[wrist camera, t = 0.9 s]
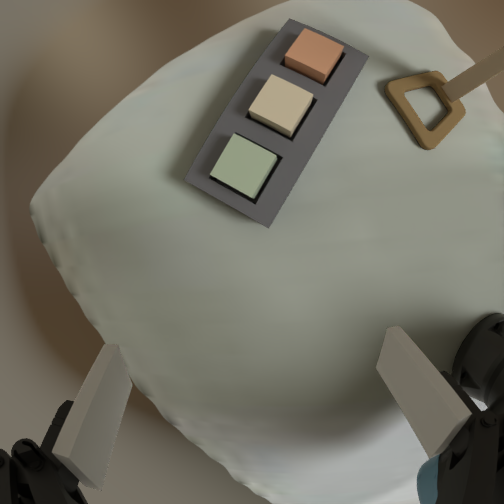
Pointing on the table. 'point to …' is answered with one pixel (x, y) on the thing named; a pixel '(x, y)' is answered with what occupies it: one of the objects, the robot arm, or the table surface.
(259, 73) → the keypad
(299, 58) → the terracotta key
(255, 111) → the sand key
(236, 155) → the sage key
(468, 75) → the headphone stand
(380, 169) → the table surface
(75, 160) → the table surface
